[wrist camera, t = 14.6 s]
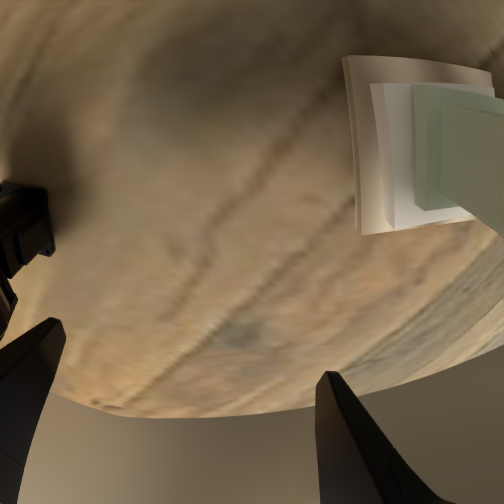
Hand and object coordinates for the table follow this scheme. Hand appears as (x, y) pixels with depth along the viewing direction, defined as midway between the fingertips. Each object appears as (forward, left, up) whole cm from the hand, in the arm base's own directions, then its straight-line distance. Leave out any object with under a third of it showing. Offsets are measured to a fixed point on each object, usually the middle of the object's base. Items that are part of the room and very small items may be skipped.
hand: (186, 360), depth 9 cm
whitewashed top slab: (+13, +8, -12) cm, 19 cm away
